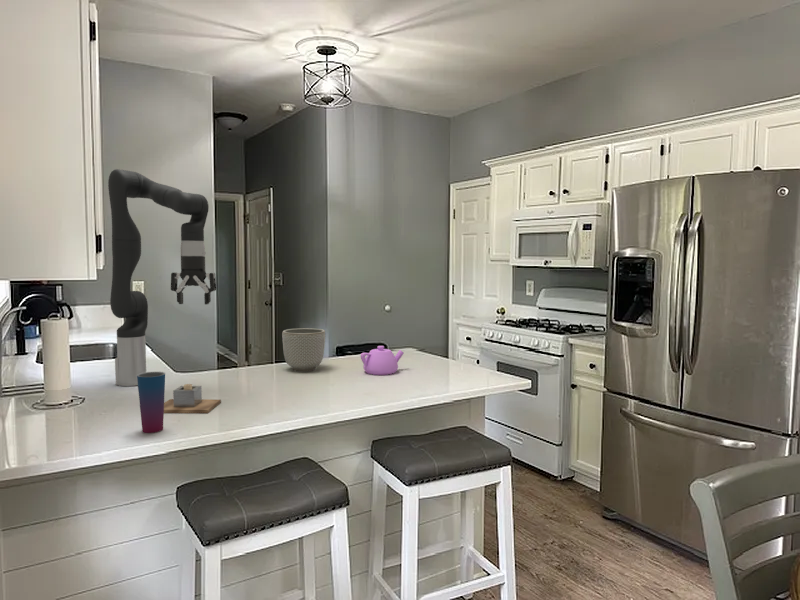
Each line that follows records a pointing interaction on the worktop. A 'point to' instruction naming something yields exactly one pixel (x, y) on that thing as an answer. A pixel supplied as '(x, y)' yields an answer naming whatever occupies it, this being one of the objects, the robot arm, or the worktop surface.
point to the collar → (187, 396)
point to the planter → (303, 348)
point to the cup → (151, 400)
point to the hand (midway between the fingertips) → (194, 304)
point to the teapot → (381, 361)
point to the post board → (200, 408)
